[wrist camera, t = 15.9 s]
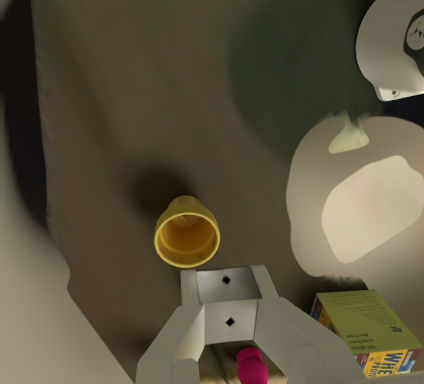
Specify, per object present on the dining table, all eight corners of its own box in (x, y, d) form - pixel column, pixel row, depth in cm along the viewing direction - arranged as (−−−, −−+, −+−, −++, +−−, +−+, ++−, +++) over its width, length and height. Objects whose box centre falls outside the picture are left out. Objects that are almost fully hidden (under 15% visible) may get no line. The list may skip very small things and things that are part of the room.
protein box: (314, 292, 68) (351, 354, 54) (374, 288, 70) (425, 347, 56) (306, 324, 72) (338, 389, 58) (363, 319, 74) (407, 381, 60)
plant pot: (144, 203, 52) (139, 234, 43) (194, 175, 51) (199, 200, 42) (176, 243, 57) (177, 278, 48) (222, 217, 55) (232, 248, 47)
